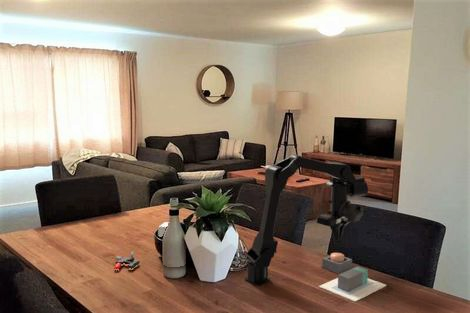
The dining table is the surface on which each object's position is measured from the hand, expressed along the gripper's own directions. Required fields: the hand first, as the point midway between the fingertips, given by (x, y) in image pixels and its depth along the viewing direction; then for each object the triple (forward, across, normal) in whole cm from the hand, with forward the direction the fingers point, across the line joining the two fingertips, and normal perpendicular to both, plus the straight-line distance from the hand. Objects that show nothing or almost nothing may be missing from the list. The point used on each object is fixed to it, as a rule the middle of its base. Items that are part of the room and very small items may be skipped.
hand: (338, 239), depth 158 cm
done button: (+9, 0, 0) cm, 9 cm away
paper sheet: (+11, -9, -13) cm, 19 cm away
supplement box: (+11, -40, +51) cm, 66 cm away
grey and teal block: (+11, -9, -13) cm, 19 cm away
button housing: (+11, 0, 0) cm, 11 cm away
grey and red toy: (+12, -60, +52) cm, 80 cm away
